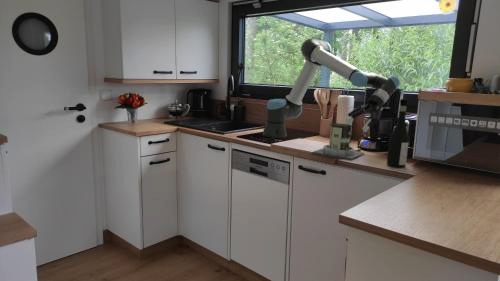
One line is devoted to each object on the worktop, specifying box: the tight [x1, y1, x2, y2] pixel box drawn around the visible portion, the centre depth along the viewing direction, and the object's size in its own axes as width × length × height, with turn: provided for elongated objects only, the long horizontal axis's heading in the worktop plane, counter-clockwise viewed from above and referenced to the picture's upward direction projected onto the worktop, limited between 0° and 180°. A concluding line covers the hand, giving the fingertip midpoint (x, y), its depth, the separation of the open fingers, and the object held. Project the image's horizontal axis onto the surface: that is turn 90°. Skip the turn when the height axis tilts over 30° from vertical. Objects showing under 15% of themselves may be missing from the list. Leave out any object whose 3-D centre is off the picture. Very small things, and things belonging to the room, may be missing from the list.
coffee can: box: [328, 122, 353, 150], centre depth 183 cm, size 10×10×14 cm
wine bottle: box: [386, 98, 410, 169], centre depth 161 cm, size 8×8×30 cm
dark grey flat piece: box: [311, 144, 365, 161], centre depth 184 cm, size 20×20×4 cm
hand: (353, 128), depth 186 cm, fingers open, 13 cm apart
